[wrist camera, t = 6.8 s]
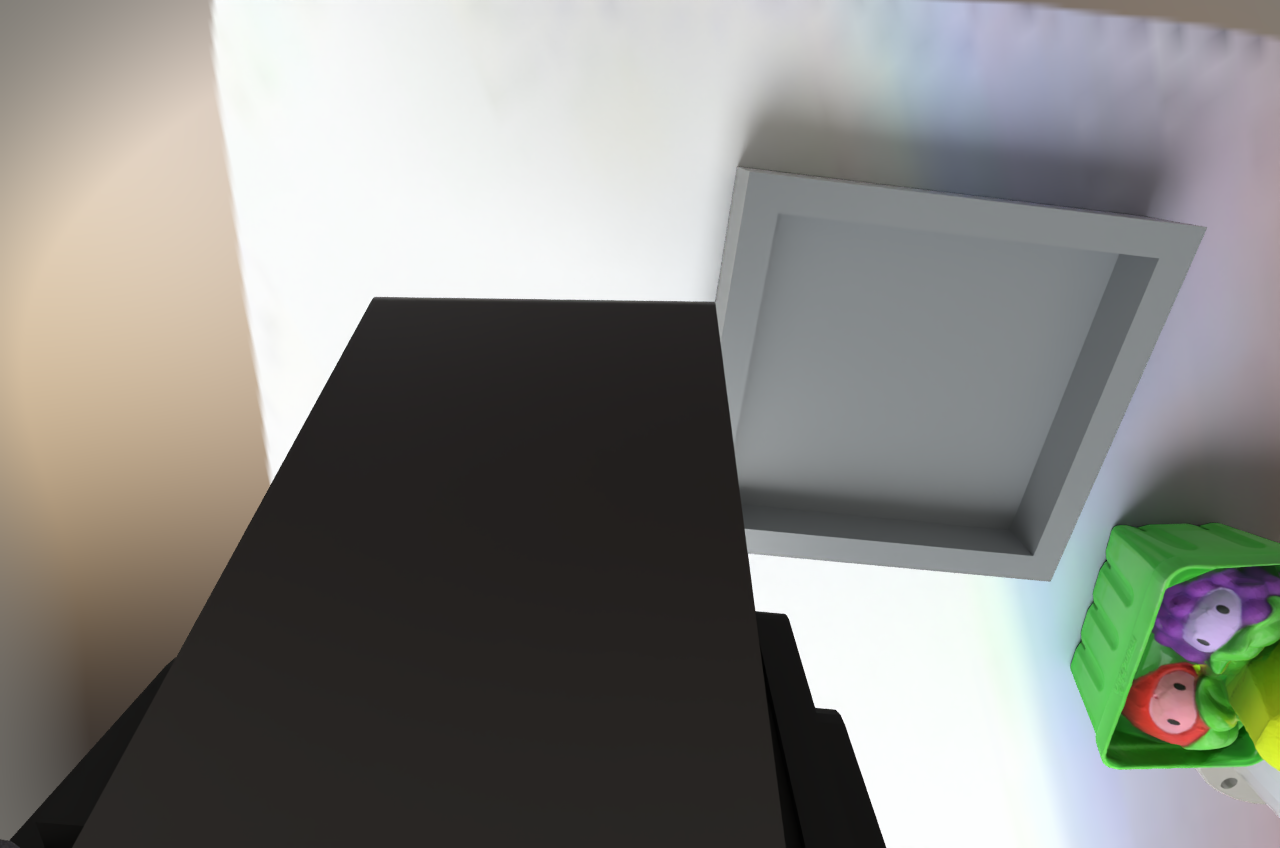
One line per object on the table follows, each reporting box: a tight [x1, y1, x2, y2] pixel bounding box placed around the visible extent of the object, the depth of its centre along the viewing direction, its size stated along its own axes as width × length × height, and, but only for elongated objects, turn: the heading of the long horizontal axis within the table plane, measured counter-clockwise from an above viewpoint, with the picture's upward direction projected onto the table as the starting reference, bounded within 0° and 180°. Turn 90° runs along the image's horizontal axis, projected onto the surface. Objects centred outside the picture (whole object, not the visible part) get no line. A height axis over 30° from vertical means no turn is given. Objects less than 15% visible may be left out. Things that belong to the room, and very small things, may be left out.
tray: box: [715, 167, 1207, 581], centre depth 27 cm, size 16×15×3 cm
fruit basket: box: [1071, 523, 1280, 771], centre depth 28 cm, size 11×9×11 cm
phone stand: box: [72, 297, 786, 848], centre depth 8 cm, size 9×6×12 cm, turn 179°
